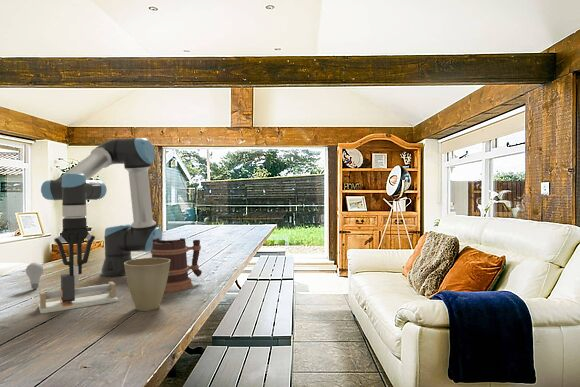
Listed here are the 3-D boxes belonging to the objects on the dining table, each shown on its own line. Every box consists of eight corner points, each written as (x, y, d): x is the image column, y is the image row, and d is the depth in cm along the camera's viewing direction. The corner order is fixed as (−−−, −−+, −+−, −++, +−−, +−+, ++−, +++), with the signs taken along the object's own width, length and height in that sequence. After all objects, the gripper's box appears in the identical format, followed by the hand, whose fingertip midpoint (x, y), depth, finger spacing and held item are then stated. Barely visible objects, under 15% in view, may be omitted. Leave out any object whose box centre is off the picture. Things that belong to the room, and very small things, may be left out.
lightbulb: (35, 291, 163) (34, 264, 163) (22, 290, 164) (21, 263, 164) (47, 287, 169) (46, 261, 169) (34, 287, 170) (34, 261, 170)
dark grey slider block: (72, 297, 146) (72, 273, 146) (74, 300, 141) (74, 276, 141) (61, 299, 144) (60, 274, 144) (63, 302, 139) (62, 277, 139)
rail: (112, 295, 156) (111, 280, 155) (118, 301, 147) (117, 285, 147) (38, 306, 142) (38, 289, 142) (40, 313, 134) (40, 295, 134)
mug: (208, 287, 167) (207, 238, 167) (150, 294, 156) (149, 242, 156) (195, 278, 183) (195, 234, 183) (142, 285, 172) (141, 237, 172)
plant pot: (127, 317, 129) (126, 267, 129) (122, 305, 142) (121, 259, 142) (175, 310, 136) (174, 262, 135) (166, 299, 149) (165, 256, 149)
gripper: (92, 215, 150) (94, 279, 151) (52, 217, 143) (53, 284, 143) (96, 216, 144) (97, 283, 145) (54, 218, 137) (55, 288, 137)
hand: (75, 283), depth 144 cm, fingers closed
